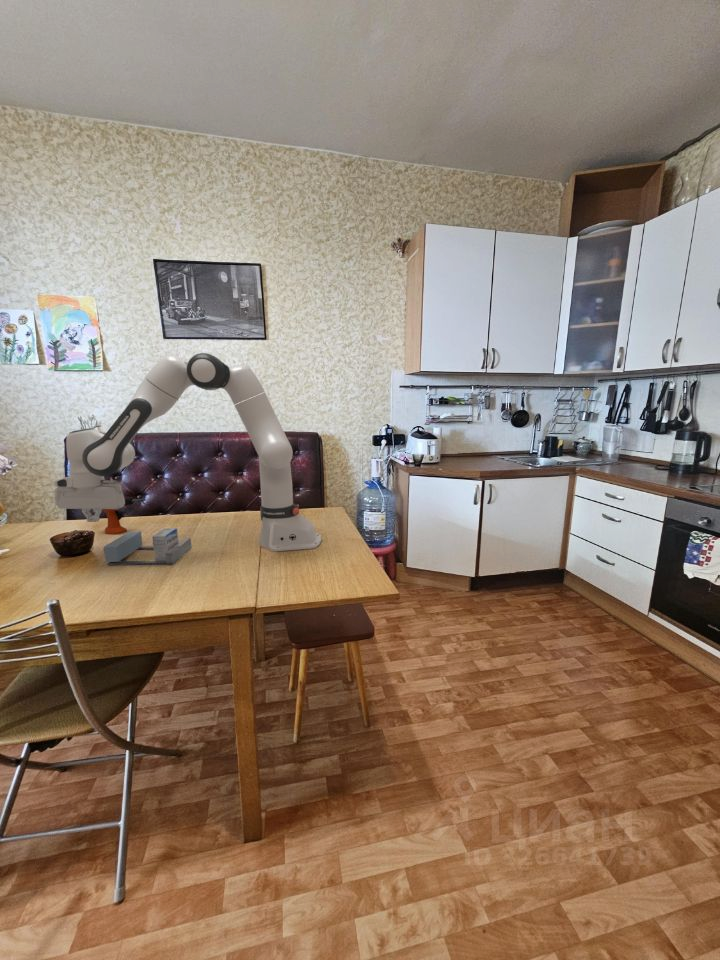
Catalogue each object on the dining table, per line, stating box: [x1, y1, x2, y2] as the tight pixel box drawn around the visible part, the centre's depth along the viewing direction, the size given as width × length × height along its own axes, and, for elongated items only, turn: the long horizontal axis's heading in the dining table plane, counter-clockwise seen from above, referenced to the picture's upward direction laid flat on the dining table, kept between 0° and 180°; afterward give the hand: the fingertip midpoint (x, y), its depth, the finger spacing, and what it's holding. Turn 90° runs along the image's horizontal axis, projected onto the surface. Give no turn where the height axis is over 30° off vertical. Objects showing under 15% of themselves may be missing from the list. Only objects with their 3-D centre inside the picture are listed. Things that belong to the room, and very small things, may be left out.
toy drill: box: [102, 497, 146, 535], centre depth 151 cm, size 5×19×15 cm, turn 87°
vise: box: [106, 537, 192, 566], centre depth 128 cm, size 20×14×4 cm
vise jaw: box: [103, 531, 143, 563], centre depth 128 cm, size 4×14×5 cm, turn 0°
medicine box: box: [151, 527, 180, 561], centre depth 128 cm, size 8×4×9 cm, turn 179°
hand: (93, 521), depth 126 cm, fingers closed
